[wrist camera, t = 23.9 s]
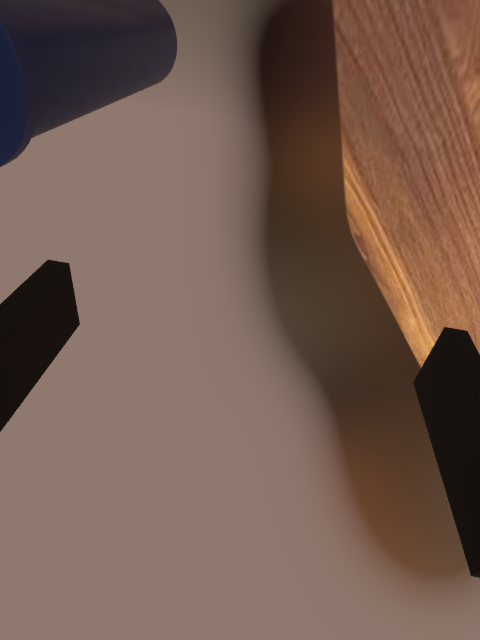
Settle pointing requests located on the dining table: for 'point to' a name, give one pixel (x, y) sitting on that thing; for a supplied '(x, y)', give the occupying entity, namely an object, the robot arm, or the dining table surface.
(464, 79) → the dining table surface
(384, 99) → the dining table surface
